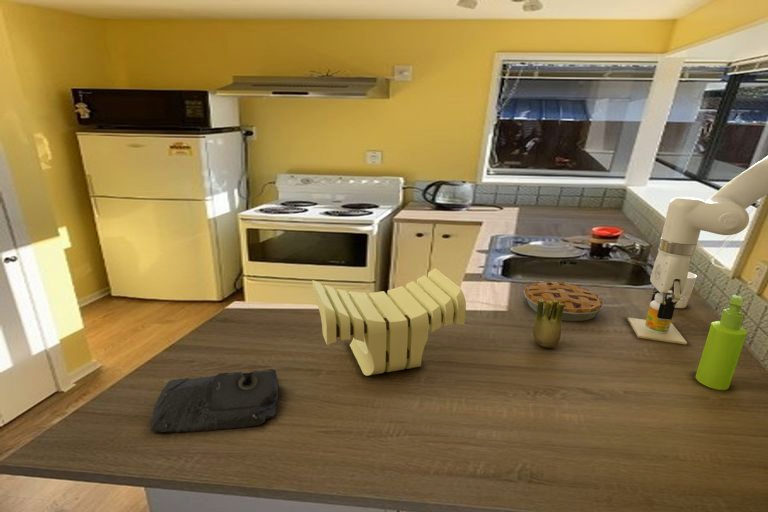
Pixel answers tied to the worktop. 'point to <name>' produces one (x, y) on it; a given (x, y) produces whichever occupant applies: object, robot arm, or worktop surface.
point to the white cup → (686, 291)
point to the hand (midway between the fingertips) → (660, 312)
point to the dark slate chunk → (216, 402)
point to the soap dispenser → (723, 347)
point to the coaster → (644, 333)
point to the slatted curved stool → (390, 320)
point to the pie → (564, 299)
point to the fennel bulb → (548, 324)
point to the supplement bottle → (653, 321)
